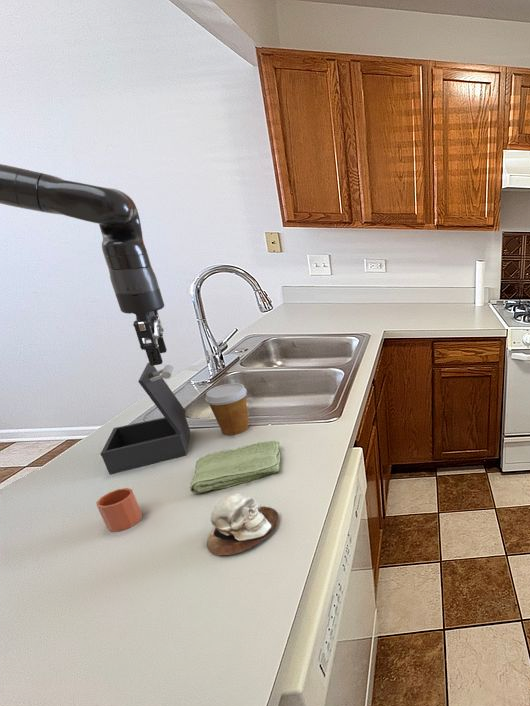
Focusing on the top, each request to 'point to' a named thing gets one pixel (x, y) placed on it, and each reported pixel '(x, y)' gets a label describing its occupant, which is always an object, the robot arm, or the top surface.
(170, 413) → the lid
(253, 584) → the top surface
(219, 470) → the washcloth
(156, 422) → the dark grey box
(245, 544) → the skull
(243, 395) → the disposable coffee cup
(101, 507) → the creamer cup
